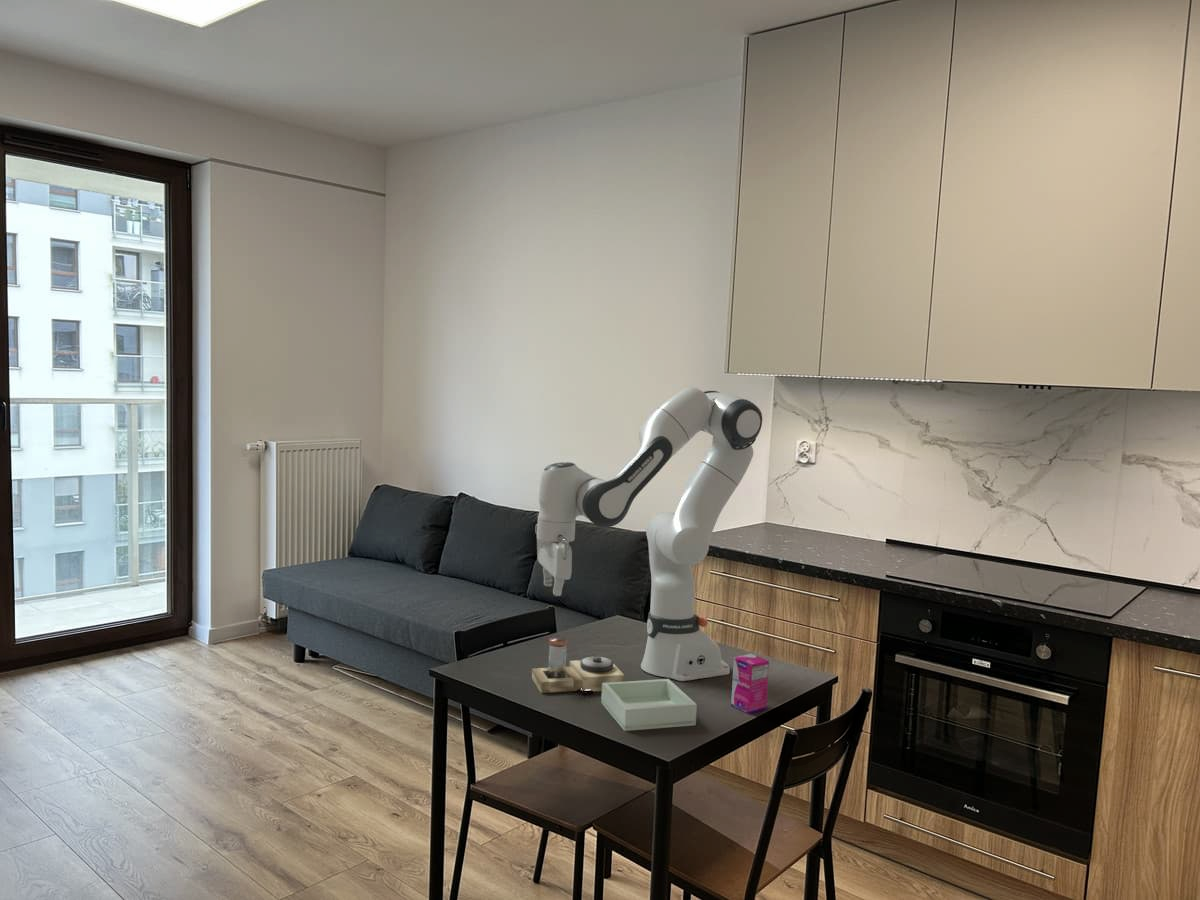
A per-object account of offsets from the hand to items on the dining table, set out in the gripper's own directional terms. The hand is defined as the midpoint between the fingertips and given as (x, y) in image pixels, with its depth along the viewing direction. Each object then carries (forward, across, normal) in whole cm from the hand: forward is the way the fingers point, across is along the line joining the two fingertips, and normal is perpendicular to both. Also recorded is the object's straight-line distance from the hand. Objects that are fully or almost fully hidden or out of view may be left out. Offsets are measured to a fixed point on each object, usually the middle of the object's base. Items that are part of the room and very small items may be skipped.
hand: (552, 590), depth 204 cm
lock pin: (+22, -1, -2) cm, 23 cm away
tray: (+22, -21, -18) cm, 35 cm away
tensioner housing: (+22, 0, -7) cm, 23 cm away
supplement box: (+22, -22, -42) cm, 52 cm away
